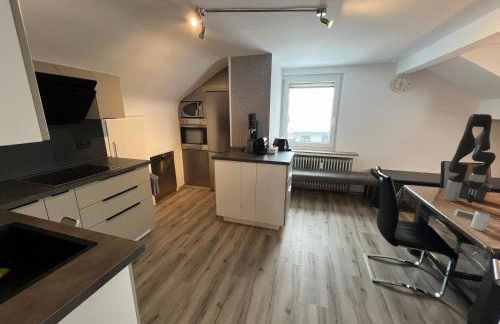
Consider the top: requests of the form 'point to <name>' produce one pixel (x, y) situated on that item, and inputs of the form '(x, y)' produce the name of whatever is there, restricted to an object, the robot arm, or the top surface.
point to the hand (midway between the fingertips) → (469, 202)
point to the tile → (465, 215)
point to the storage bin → (479, 195)
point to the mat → (462, 211)
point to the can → (480, 220)
